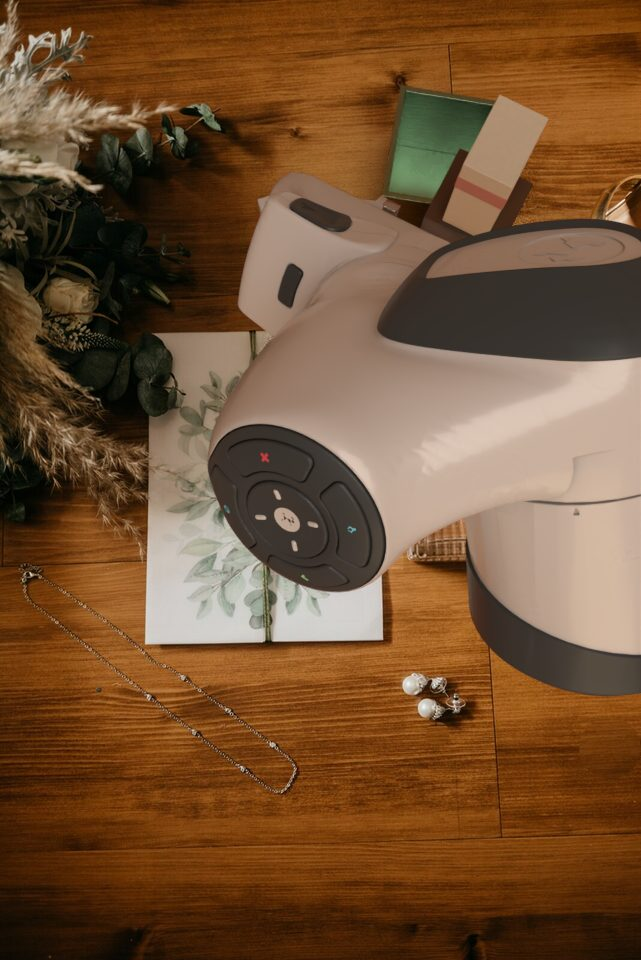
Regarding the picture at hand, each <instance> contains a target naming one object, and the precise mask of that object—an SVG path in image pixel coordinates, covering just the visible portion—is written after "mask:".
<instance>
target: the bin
mask: <svg viewBox="0 0 641 960" xmlns="http://www.w3.org/2000/svg"><path fill="white" fill-rule="evenodd" d="M495 102H496V100H493V99H488V98H482V97H475V96H469V95H463V94H457V93H451V92H444V91H439V90H432V89H426V88H418V87H413V86H407V85H403V84H400V87H399V93H398V98H397V104H396V110H395V116H394V120H393V127H392V133H391V139H390V144H389V150H388V157H387V161H386V167H385V173H384V179H383V184H382V185H383V186H382V190H381V196H383V197H385V198H387V199H389V200H391V201H393V202H395V203H397V204H399V205H401V208H400V210H399V213H398V214H397V215H396V217H398V218H400V219H402V220H404V221H406V222H408V223H410V224H412V225H414V226H416V227H418V228H420V227H421V224H422V221H423V217H424V215H425V214H426V212H427V210H428V208H429V206H430V204H431V202H432V200H433V198H434V196H435V194H436V193H437V191H438V189H439V187H440V185H441V183H442V181H443V179H444V177H445V175H446V173H447V171H448V170H449V168H450V166H451V164H452V162H453V160H454V158H455V156H456V154H457V152H458V150H459V149H460V148H461V149H463V150H465V151H467V152H470V150H471V148H472V146H473V144H474V142H475V140H476V138H477V136H478V134H479V132H480V131H481V129H482V127H483V125H484V123H485V121H486V119H487V117H488V115H489V113H490V111H491V109H492V108H493V106H494V104H495Z"/></svg>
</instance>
